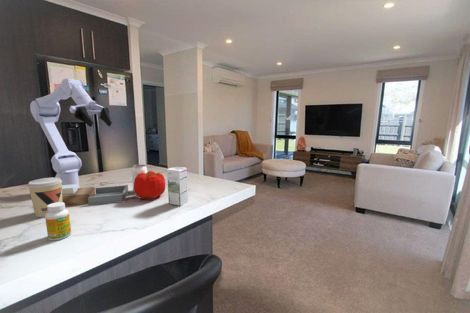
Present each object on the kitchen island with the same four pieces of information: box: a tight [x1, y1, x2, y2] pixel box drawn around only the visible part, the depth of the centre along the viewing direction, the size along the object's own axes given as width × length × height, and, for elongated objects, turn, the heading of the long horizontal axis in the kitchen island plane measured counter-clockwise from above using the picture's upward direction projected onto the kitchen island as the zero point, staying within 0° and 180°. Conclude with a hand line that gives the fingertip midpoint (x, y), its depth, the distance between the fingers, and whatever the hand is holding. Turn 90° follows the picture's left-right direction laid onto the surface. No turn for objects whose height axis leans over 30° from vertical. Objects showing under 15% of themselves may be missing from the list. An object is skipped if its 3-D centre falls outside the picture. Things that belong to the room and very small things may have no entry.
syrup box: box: [166, 166, 189, 207], centre depth 92 cm, size 6×6×14 cm
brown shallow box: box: [62, 186, 96, 207], centre depth 95 cm, size 13×10×4 cm
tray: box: [88, 184, 129, 206], centre depth 100 cm, size 13×14×3 cm
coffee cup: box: [27, 176, 62, 218], centre depth 83 cm, size 9×9×12 cm
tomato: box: [133, 170, 166, 200], centre depth 100 cm, size 14×13×10 cm
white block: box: [62, 184, 78, 195], centre depth 94 cm, size 6×6×2 cm
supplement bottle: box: [44, 202, 72, 241], centre depth 67 cm, size 5×5×10 cm
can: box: [131, 164, 148, 192], centre depth 108 cm, size 6×6×12 cm
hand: (101, 124), depth 91 cm, fingers open, 7 cm apart
